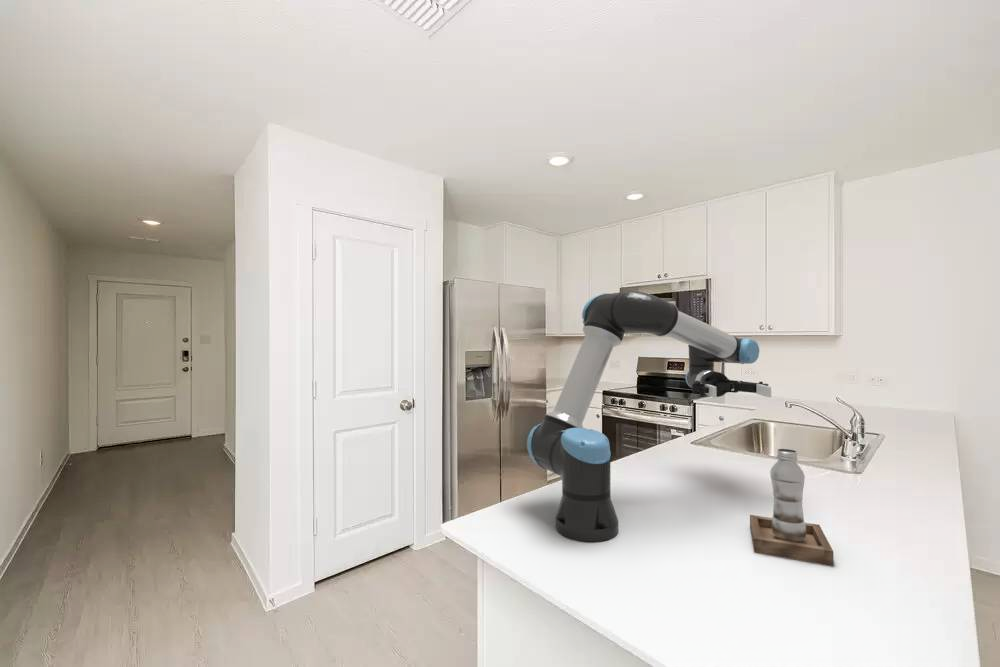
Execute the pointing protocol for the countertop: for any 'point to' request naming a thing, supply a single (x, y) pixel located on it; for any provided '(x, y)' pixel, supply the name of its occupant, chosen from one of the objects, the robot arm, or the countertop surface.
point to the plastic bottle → (788, 497)
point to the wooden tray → (791, 543)
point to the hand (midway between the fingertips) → (742, 392)
